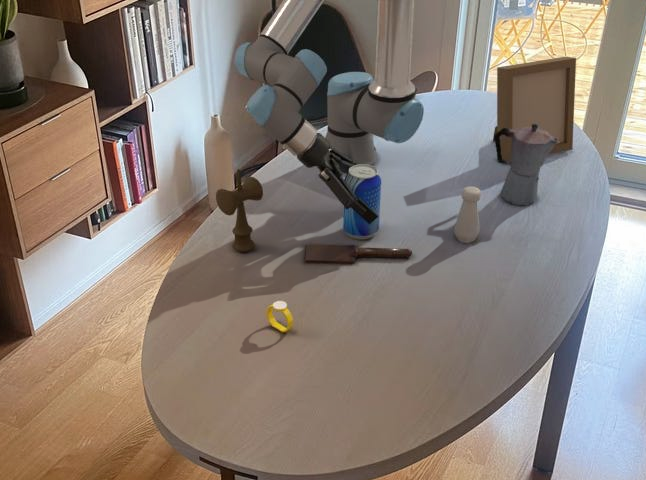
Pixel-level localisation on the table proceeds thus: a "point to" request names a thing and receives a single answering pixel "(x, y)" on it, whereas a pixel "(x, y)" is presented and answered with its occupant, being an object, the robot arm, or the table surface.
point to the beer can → (369, 191)
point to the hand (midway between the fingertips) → (372, 205)
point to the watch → (282, 307)
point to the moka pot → (524, 162)
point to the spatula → (348, 253)
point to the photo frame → (537, 100)
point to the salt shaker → (468, 216)
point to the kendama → (240, 209)
